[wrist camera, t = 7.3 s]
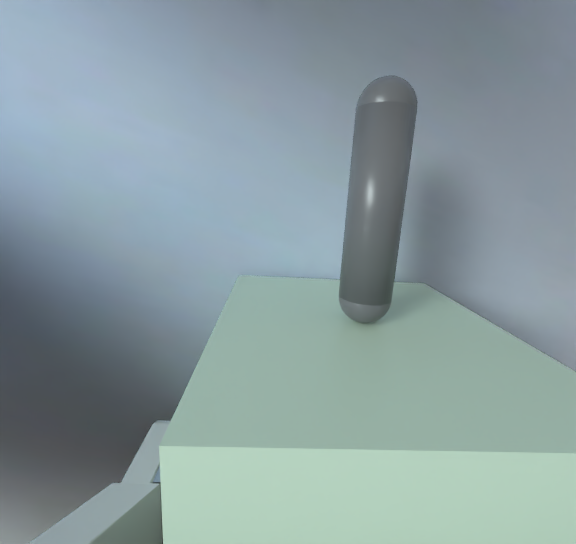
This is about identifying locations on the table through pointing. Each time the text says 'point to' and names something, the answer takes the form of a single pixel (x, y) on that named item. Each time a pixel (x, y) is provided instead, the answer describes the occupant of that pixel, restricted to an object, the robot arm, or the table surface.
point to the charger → (369, 398)
